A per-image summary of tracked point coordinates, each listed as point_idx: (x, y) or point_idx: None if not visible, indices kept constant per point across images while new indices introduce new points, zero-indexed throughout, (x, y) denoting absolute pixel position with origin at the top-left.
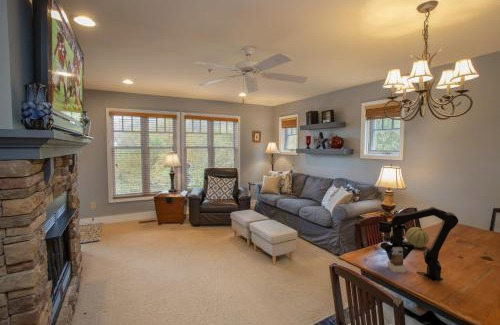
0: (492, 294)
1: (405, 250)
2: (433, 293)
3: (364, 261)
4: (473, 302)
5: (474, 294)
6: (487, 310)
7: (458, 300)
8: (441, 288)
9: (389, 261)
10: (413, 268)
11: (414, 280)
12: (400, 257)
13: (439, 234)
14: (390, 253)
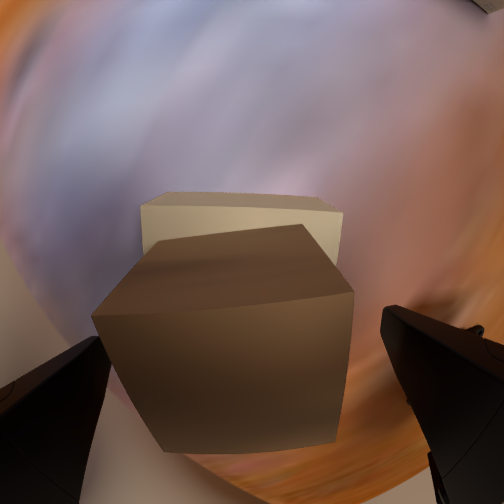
0: None
1: (486, 468)
2: (294, 478)
3: (4, 105)
4: (388, 477)
5: None
6: (383, 489)
7: (352, 483)
8: (371, 448)
9: (155, 228)
10: (435, 239)
11: None
12: (269, 450)
13: None
14: (51, 499)
